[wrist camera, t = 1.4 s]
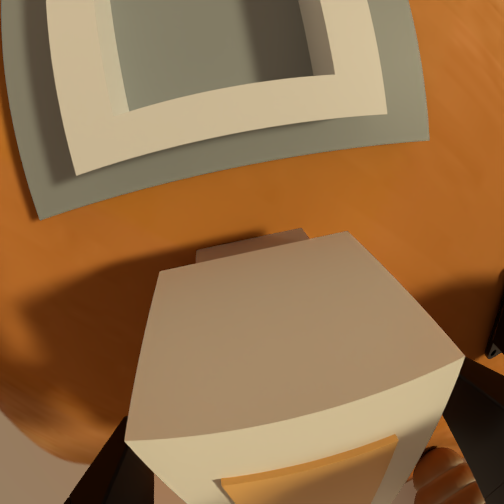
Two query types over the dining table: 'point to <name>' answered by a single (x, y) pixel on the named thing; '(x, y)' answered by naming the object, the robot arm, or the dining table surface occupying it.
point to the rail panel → (200, 87)
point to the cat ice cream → (445, 479)
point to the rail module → (287, 375)
